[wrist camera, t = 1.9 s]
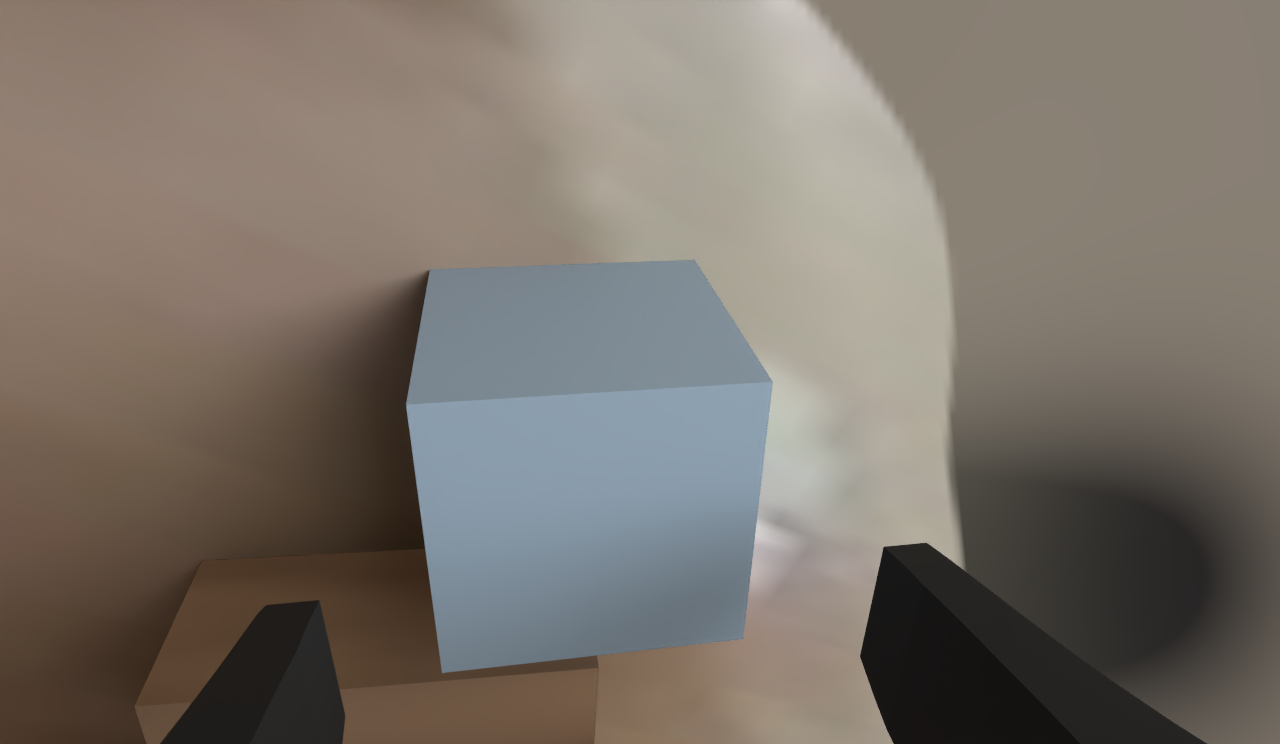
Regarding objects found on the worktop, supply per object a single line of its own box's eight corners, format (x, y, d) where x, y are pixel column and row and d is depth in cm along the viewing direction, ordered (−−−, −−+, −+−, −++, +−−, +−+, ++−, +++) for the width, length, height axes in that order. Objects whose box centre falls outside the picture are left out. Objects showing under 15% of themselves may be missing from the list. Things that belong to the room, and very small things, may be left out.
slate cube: (681, 469, 18) (742, 638, 14) (453, 487, 17) (441, 673, 13) (693, 258, 16) (772, 381, 11) (429, 268, 15) (405, 404, 10)
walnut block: (569, 759, 22) (584, 910, 19) (262, 791, 21) (217, 960, 17) (577, 531, 19) (598, 667, 15) (205, 551, 17) (133, 706, 14)
